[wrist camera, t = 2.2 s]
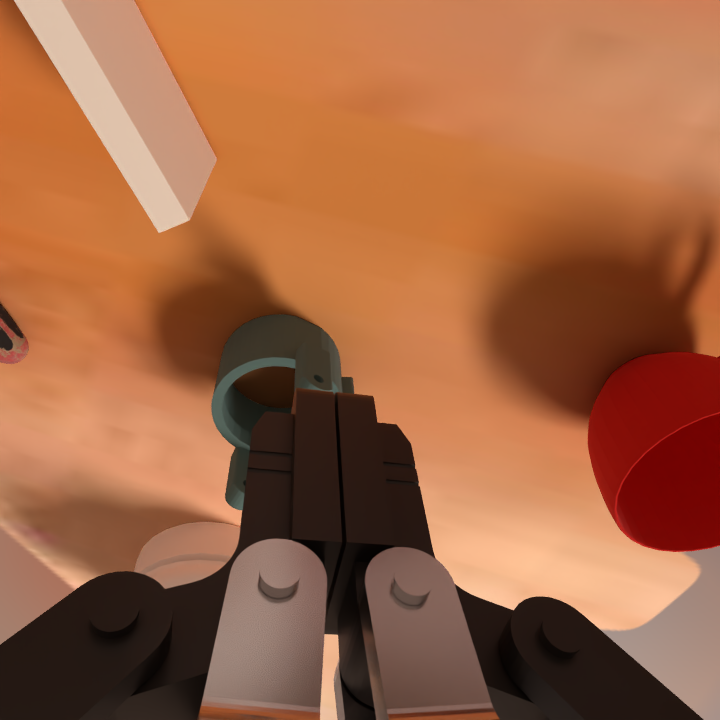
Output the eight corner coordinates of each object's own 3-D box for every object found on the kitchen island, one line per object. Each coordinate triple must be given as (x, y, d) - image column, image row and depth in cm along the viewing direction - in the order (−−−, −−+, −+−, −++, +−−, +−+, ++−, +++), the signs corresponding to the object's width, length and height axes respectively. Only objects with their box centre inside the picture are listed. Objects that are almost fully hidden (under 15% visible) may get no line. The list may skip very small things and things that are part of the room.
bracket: (241, 423, 45) (228, 517, 37) (203, 319, 39) (181, 405, 32) (358, 403, 44) (370, 493, 37) (337, 296, 39) (345, 377, 32)
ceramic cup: (811, 317, 43) (931, 405, 34) (643, 471, 51) (708, 572, 42) (687, 237, 38) (789, 315, 30) (524, 419, 46) (570, 520, 38)
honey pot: (233, 502, 49) (200, 738, 34) (307, 584, 56) (306, 810, 41) (105, 553, 52) (23, 794, 37) (191, 625, 59) (151, 853, 44)
